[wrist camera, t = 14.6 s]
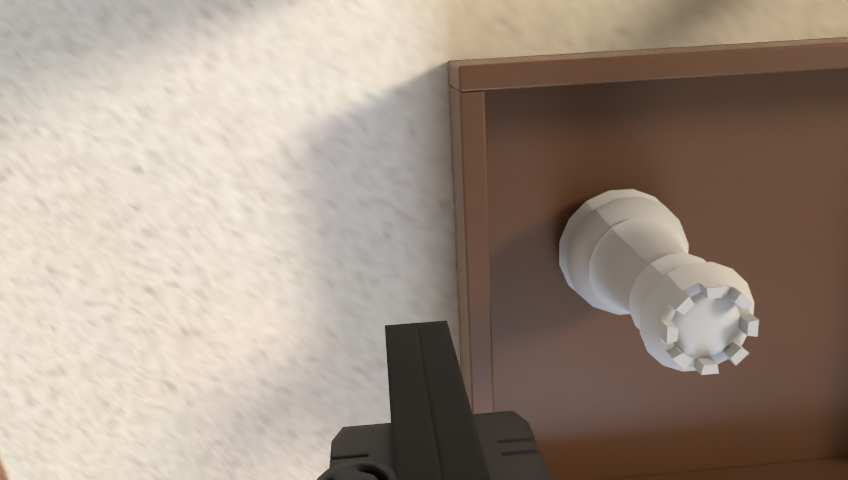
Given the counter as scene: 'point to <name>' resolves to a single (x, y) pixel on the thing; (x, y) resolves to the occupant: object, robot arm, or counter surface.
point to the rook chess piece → (657, 281)
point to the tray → (708, 239)
